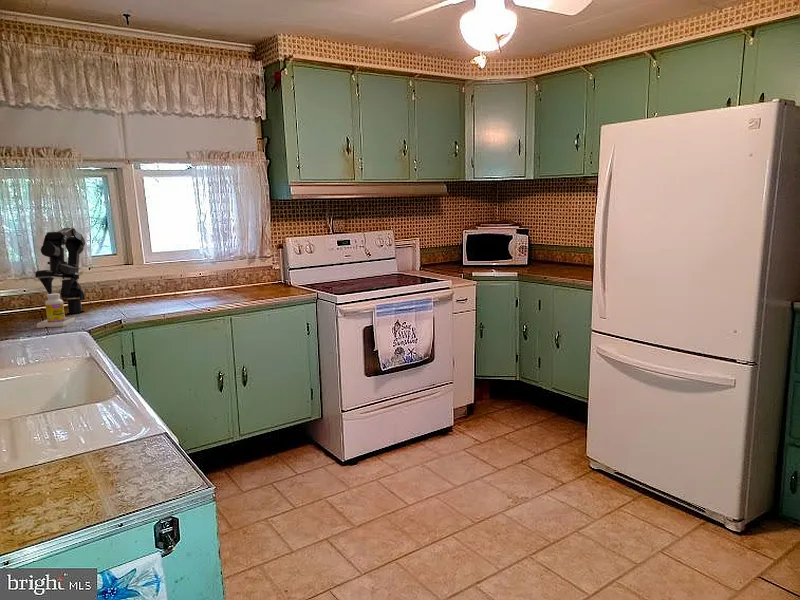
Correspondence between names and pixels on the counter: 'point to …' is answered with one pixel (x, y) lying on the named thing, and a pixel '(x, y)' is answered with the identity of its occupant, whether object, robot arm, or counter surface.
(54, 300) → the supplement bottle
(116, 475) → the counter surface
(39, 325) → the pocket tray
